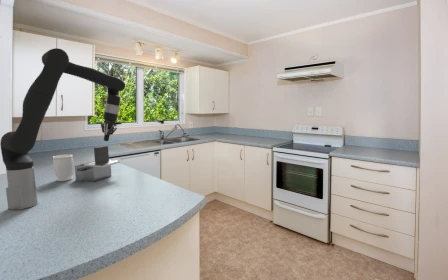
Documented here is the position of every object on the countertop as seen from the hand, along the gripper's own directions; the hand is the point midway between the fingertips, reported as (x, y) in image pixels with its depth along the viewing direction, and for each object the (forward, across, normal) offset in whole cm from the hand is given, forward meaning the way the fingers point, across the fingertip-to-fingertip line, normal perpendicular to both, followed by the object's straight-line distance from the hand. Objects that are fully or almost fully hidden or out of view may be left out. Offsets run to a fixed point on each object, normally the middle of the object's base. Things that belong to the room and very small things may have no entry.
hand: (105, 140), depth 141 cm
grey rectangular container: (+26, +10, -3) cm, 28 cm away
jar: (+30, +22, +8) cm, 38 cm away
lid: (+16, +4, -3) cm, 17 cm away
